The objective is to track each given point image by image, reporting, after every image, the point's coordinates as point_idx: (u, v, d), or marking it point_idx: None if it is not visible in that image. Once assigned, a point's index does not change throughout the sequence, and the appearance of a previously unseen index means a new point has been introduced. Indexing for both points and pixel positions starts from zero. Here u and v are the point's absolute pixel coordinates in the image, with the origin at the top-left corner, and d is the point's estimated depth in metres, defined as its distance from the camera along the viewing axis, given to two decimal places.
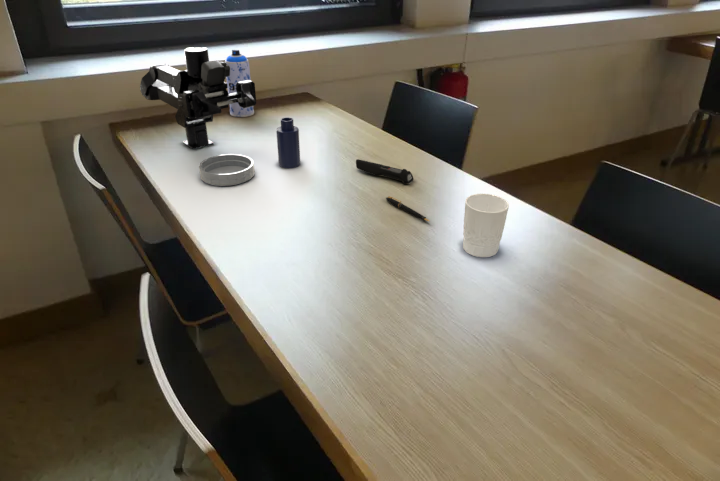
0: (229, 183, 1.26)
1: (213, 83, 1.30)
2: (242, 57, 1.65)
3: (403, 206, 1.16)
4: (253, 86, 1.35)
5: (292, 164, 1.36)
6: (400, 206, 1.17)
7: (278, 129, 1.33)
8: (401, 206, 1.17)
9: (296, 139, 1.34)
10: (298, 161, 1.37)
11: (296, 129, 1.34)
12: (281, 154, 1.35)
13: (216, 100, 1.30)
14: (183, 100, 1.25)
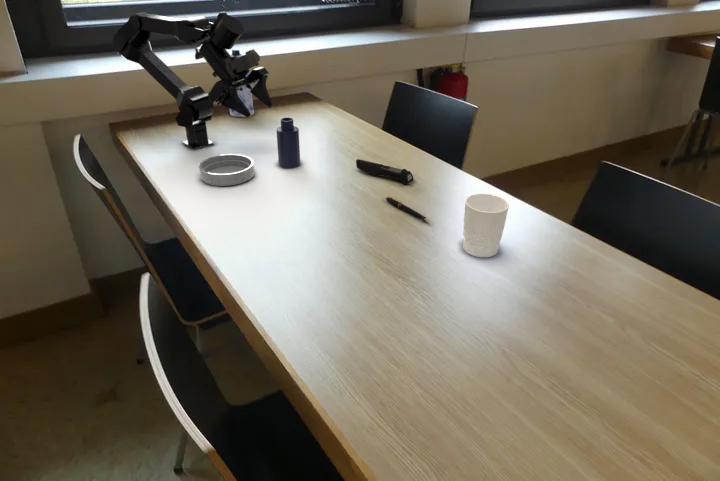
0: (229, 183, 1.26)
1: (240, 71, 1.31)
2: None
3: (403, 206, 1.16)
4: (266, 75, 1.40)
5: (292, 164, 1.36)
6: (400, 206, 1.17)
7: (278, 129, 1.33)
8: (401, 206, 1.17)
9: (296, 139, 1.34)
10: (298, 161, 1.37)
11: (296, 129, 1.34)
12: (281, 154, 1.35)
13: (237, 87, 1.33)
14: (216, 88, 1.26)
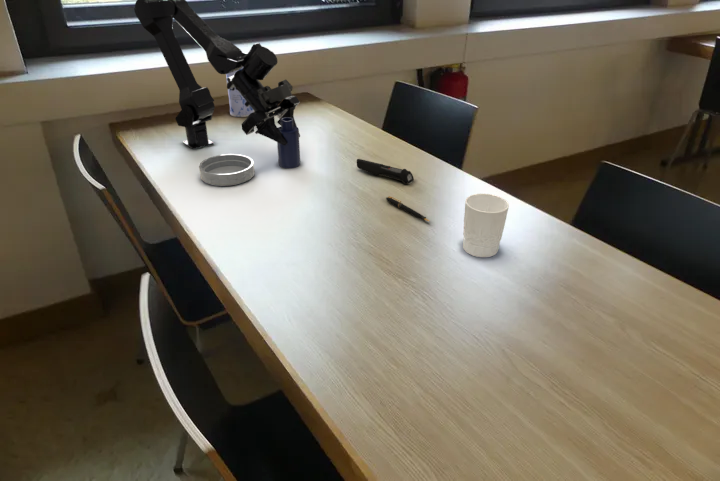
0: (229, 183, 1.26)
1: (273, 101, 1.31)
2: None
3: (403, 206, 1.16)
4: (297, 104, 1.40)
5: (292, 164, 1.36)
6: (400, 206, 1.17)
7: None
8: (401, 206, 1.17)
9: (296, 139, 1.34)
10: (298, 161, 1.37)
11: (296, 129, 1.34)
12: (281, 154, 1.35)
13: None
14: (250, 120, 1.26)
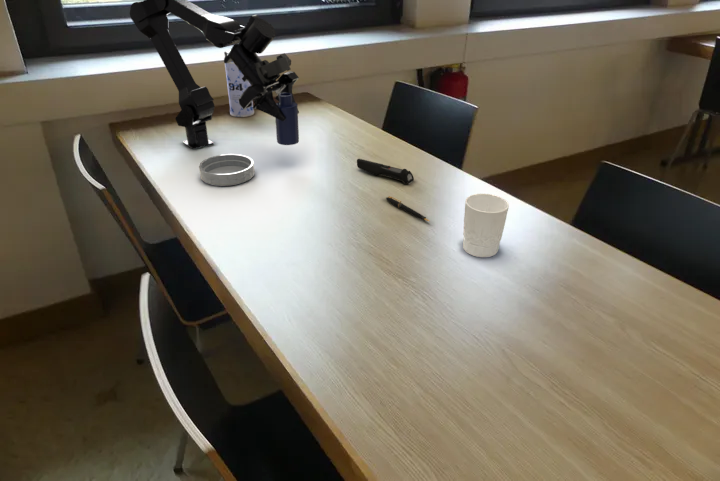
0: (229, 183, 1.26)
1: (271, 75, 1.28)
2: None
3: (403, 206, 1.16)
4: (296, 80, 1.37)
5: (290, 141, 1.33)
6: (400, 206, 1.17)
7: None
8: (401, 206, 1.17)
9: (295, 115, 1.30)
10: (297, 138, 1.34)
11: (295, 105, 1.30)
12: (279, 131, 1.32)
13: None
14: (247, 94, 1.23)
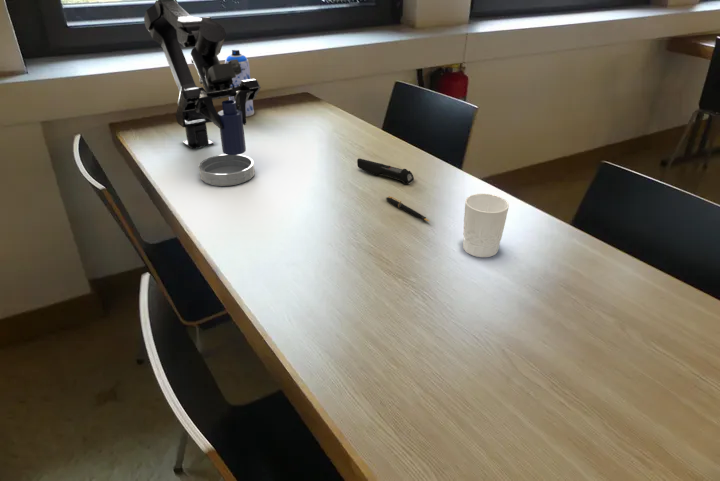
0: (229, 183, 1.26)
1: (218, 81, 1.23)
2: (242, 57, 1.65)
3: (403, 206, 1.16)
4: (258, 88, 1.29)
5: (230, 151, 1.26)
6: (400, 206, 1.17)
7: (221, 111, 1.25)
8: (401, 206, 1.17)
9: (234, 125, 1.23)
10: (239, 149, 1.27)
11: (237, 114, 1.23)
12: (221, 138, 1.26)
13: (215, 98, 1.25)
14: (181, 96, 1.20)
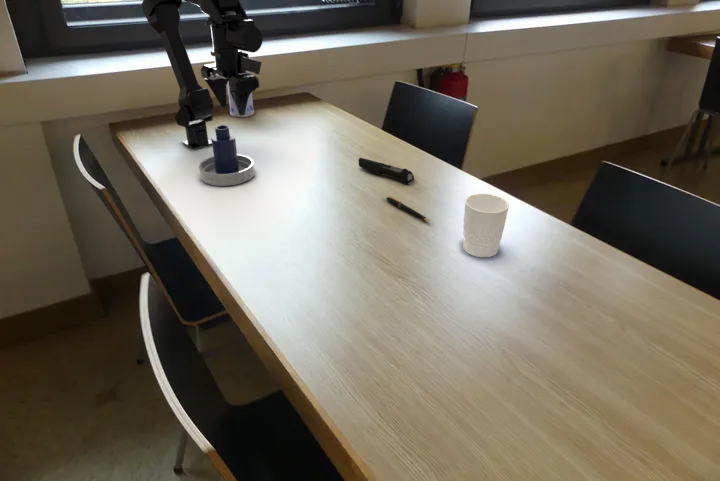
0: (229, 183, 1.26)
1: None
2: None
3: (403, 206, 1.16)
4: None
5: None
6: (400, 206, 1.17)
7: (215, 136, 1.28)
8: (401, 206, 1.17)
9: (226, 150, 1.26)
10: None
11: (229, 139, 1.26)
12: (214, 162, 1.29)
13: None
14: (253, 82, 1.25)
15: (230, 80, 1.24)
